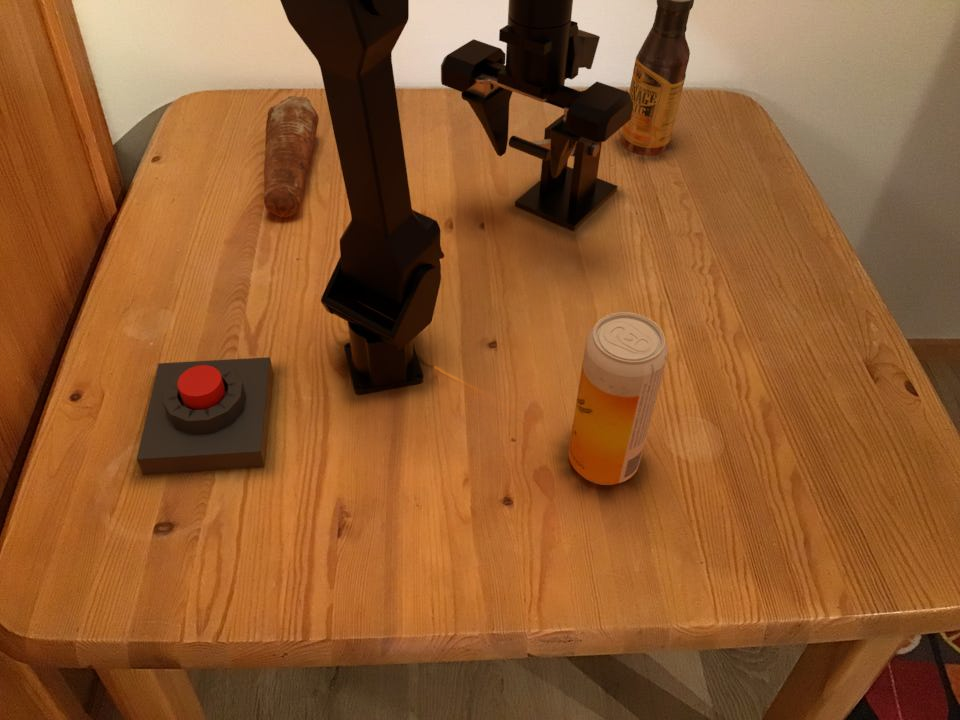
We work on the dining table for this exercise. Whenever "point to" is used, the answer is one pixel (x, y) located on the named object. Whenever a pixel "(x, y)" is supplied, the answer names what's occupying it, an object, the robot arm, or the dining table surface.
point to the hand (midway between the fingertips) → (528, 164)
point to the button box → (208, 420)
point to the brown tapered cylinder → (288, 154)
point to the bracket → (569, 187)
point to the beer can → (616, 396)
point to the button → (201, 387)
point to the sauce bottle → (658, 80)
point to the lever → (534, 147)
